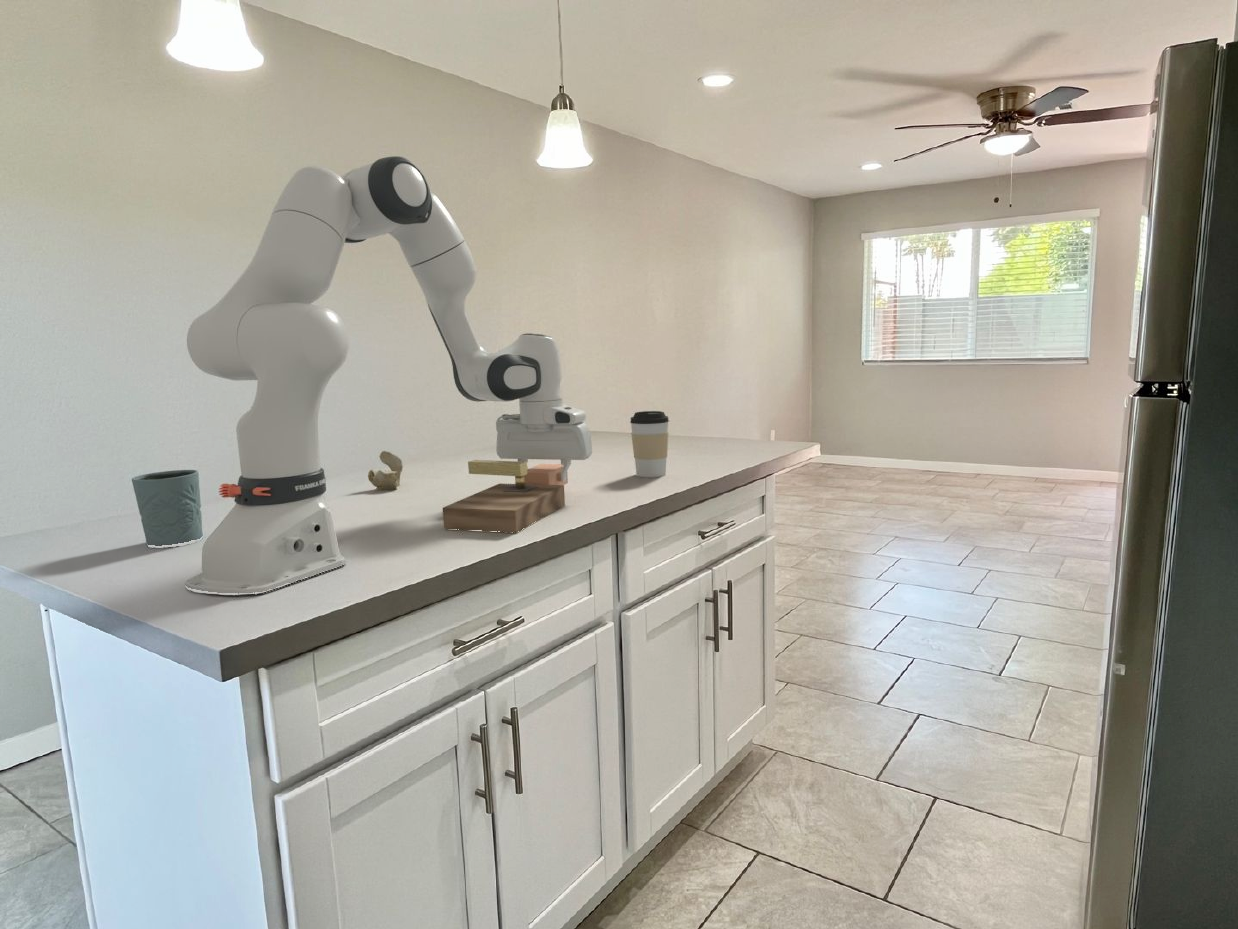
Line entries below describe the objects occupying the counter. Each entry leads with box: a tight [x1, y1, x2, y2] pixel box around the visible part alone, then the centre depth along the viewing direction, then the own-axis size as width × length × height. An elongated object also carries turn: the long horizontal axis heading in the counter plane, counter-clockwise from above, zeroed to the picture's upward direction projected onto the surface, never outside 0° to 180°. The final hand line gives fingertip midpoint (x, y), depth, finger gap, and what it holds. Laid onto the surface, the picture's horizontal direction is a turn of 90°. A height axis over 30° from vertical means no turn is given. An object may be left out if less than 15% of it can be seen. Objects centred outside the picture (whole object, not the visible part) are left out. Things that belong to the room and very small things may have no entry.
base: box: [442, 483, 566, 534], centre depth 146 cm, size 22×14×4 cm, turn 162°
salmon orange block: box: [524, 463, 569, 486], centre depth 162 cm, size 10×6×4 cm, turn 162°
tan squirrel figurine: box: [367, 450, 404, 491], centre depth 178 cm, size 9×6×10 cm
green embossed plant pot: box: [131, 469, 204, 546], centre depth 136 cm, size 10×10×12 cm
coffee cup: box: [630, 410, 670, 478], centre depth 182 cm, size 9×9×15 cm
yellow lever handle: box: [467, 459, 528, 488], centre depth 152 cm, size 12×2×5 cm, turn 65°
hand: (545, 480), depth 162 cm, fingers closed on salmon orange block, 6 cm apart
